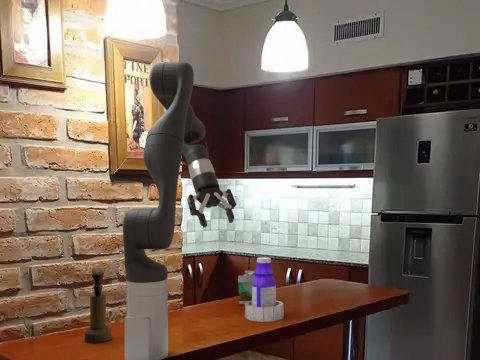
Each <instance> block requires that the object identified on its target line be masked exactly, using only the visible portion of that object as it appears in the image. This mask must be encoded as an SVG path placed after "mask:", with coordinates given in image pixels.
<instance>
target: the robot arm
mask: <svg viewBox="0 0 480 360" xmlns="http://www.w3.org/2000/svg"><path fill="white" fill-rule="evenodd" d="M194 74H195V73H194V69H193V66H192V65H191V64H190V63H188V62H185V61H158V62H154V63H153V64H152V65H151V67H150V71H149V77H148V78H149V86H150V89H151V92H152V94H153V95H154V96H155V98H156V99H157V101H159V103H160V104H161V105H162V106H163V108H164V109H165V110H166V111H165V112H164V113H163V114H162V115H161V116H160V117H159V118H158V119H157V120H156V121H155V122H154V123H153V125H152V126H151V127H150V129H149V130H148V132H147V134H146V139H145V145H144V150H143V162H144V165H145V167H146V169H147V171H148V173H149V176H150V177H151V178H152V180H153V183H154V184H155V187H156V189H157V192H158V207H157V208H131V209H129V210H128V211H127V212H126V213H125V215H124V218H123V223H122V237H123V238H122V239H123V240H122V241H123V254H124V255H123V256H124V257H123V258H124V259H123V260H124V269H125V281H126V282H125V283H126V284H125V285H126V286H125V287H126V289H125V290H126V292H125V295H126V297H125V301H126V304H125V305H126V306H125V308H126V311H125V313H126V316H125V317H124V360H163V359H166V358H167V357H168V355H169V329H168V328H169V326H168V325H169V322H168V321H169V320H168V319H169V314H168V313H169V311H168V310H169V309H168V301H169V299H168V298H169V297H168V293H169V292H168V287H169V285H168V267H167V266H166V265H164V264H163V263H159V262H157V261H155V260H154V259H152V258H150V257H149V256H148V255H147V254H146V252H145V250H166V249H168V248H169V247H170V246H171V245H172V242H173V239H174V235H175V225H176V224H175V223H176V209H177V207H176V206H177V193H178V192H177V191H178V183H179V177H180V170H181V164H182V159H183V155H184V158H185V161H186V163H187V166H188V172H189V176H190V180H191V183H192V185H193V189H194V192H195V195H193V194H191V193H190V194H189V195H188V197H187V204H188V208H189V213H190V215H191V216H192V217H194V216H197V218H198V220H199V224H200V226H201V227H202V228H207V226H208V222H207V219H206V216H205V213H203V212H204V211H205V208H207V209H210V208H212V207H213V208H216V207H218V208H220V209H223V210H224V212H225V214H226V218H227V220H228V223H229V224H232V223H233V222H234V220H235V215H234V212H233V210H234V209H235V208H236V206H237V202H236V199H235V197H234V195H233V192H232V190H231V189H230V188H228V189H227V190H221V188H220V184H219V182H218V178H217V176H216V172H215V169H214V166H213V164H212V162H211V161H210V157H209V156H210V155H209V154H208V151H207V148H206V146H204V145H203V144H193V143H196V142H200V141H202V140H203V139H204V138H205V137H206V134H207V131H206V126H205V125H204V123H203V122H202V121H201V119H200V118H198V117H197V116H196V114H195V111H194V108H193V106H192V104H190V101H191V99H192V98H191V97H192V93H193V88H194V87H193V86H194V82H195V81H194ZM223 196H224V197H223ZM196 201H197V202H198V203H200V206H199V207H198V209H197V207H196Z"/></svg>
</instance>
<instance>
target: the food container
mask: <svg viewBox="0 0 480 360" xmlns="http://www.w3.org/2000/svg"><path fill="white" fill-rule="evenodd" d="M254 272H255V270H244V274H243V273H242V274H241V275H237V276H238V277H237V281H238V282H237V283H238V305H239V307H245V303H246V302H248V301H252V282H253V280H254V278H255V274H254Z"/></svg>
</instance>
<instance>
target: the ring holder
mask: <svg viewBox="0 0 480 360" xmlns="http://www.w3.org/2000/svg"><path fill="white" fill-rule="evenodd" d="M284 308H285V307H284V303H283V302H282V301H280V300H276V306H271V307H258V306H252V301H248V302H246V303H245V306H244V318H246V320H249V321H251V322H262V323H264V322H266V323H268V322H276V321H281V320H283V319H284V317H285V315H284V311H285V310H284Z"/></svg>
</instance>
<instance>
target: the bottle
mask: <svg viewBox="0 0 480 360" xmlns="http://www.w3.org/2000/svg"><path fill="white" fill-rule="evenodd" d="M254 271H255V272H254V274H255V278H254V280H253V282H252V306H258V307H271V306H276V301H277V288H276V287H277V283H276V279H275V277H274V273H275V272H274V270H273V267H272V260H271V257H265V256H264V257H257V259H256V267H255V270H254Z"/></svg>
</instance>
